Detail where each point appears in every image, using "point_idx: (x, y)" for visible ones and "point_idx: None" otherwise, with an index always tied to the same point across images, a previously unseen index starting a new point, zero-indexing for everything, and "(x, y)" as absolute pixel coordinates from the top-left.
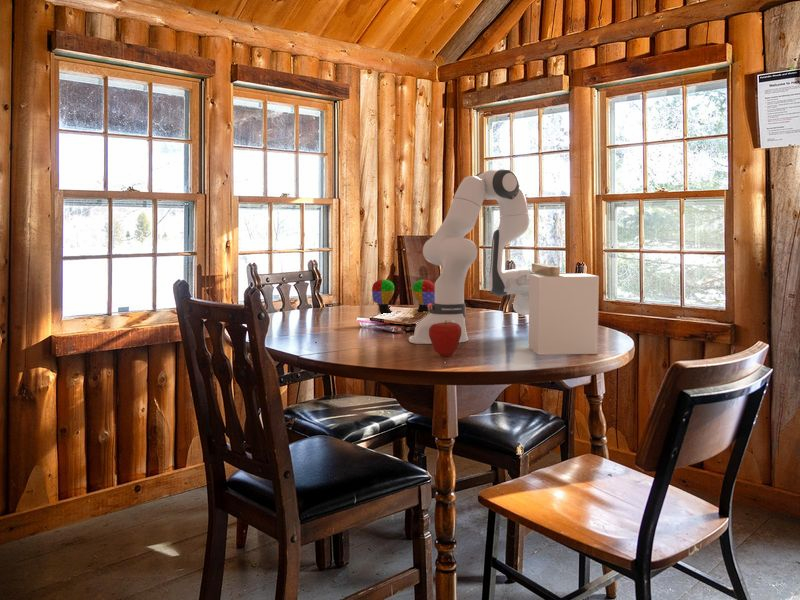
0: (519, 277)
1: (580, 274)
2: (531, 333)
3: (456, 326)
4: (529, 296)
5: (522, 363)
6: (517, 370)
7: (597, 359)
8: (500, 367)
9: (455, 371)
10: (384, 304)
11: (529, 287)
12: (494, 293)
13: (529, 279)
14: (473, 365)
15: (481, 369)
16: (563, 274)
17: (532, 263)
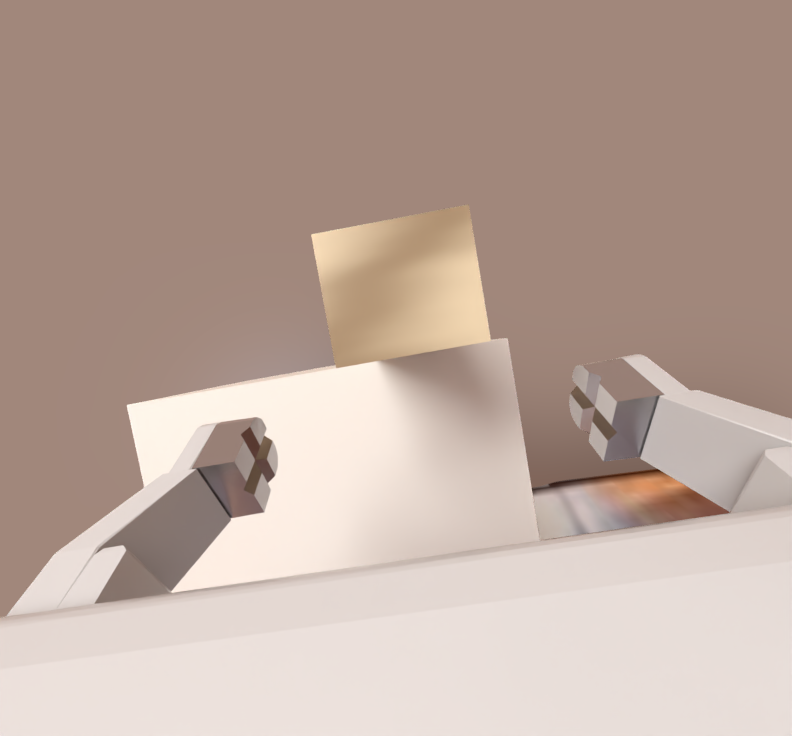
0: (758, 417)
1: (230, 385)
2: None
3: None
4: (527, 483)
5: (541, 528)
6: (540, 492)
7: None
8: (581, 500)
9: (658, 473)
10: None
11: (518, 426)
12: None
13: (511, 373)
14: (652, 503)
15: (614, 487)
16: (311, 371)
17: (457, 207)
